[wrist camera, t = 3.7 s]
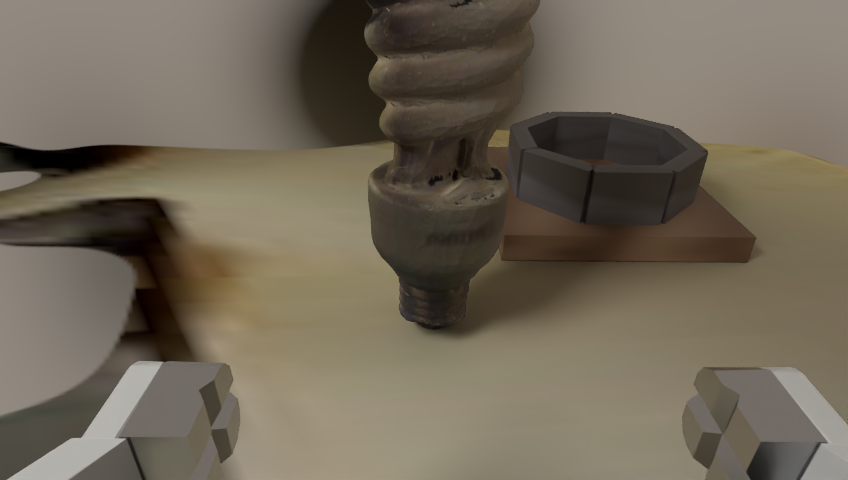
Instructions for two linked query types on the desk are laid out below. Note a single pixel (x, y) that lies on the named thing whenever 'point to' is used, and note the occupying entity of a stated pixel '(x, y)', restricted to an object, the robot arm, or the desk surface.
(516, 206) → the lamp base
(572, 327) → the desk surface
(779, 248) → the desk surface
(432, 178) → the light bulb
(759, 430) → the robot arm
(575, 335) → the desk surface
